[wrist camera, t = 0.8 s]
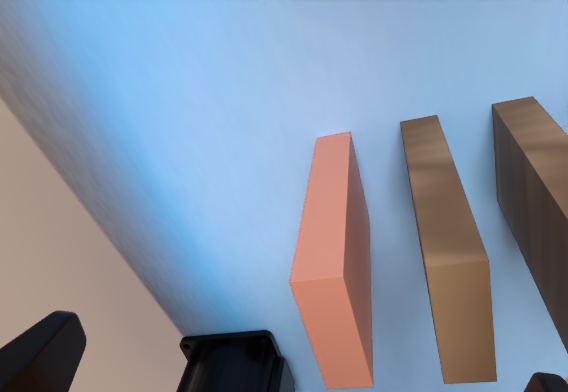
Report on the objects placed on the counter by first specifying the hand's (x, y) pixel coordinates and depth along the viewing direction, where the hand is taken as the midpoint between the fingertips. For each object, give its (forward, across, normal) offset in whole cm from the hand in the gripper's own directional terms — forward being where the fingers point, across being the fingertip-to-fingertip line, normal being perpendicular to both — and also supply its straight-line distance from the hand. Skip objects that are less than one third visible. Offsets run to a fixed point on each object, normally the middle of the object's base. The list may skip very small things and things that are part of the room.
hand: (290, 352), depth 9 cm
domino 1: (+14, -1, +5) cm, 15 cm away
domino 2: (+14, -4, +4) cm, 15 cm away
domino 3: (+14, -8, +3) cm, 16 cm away
